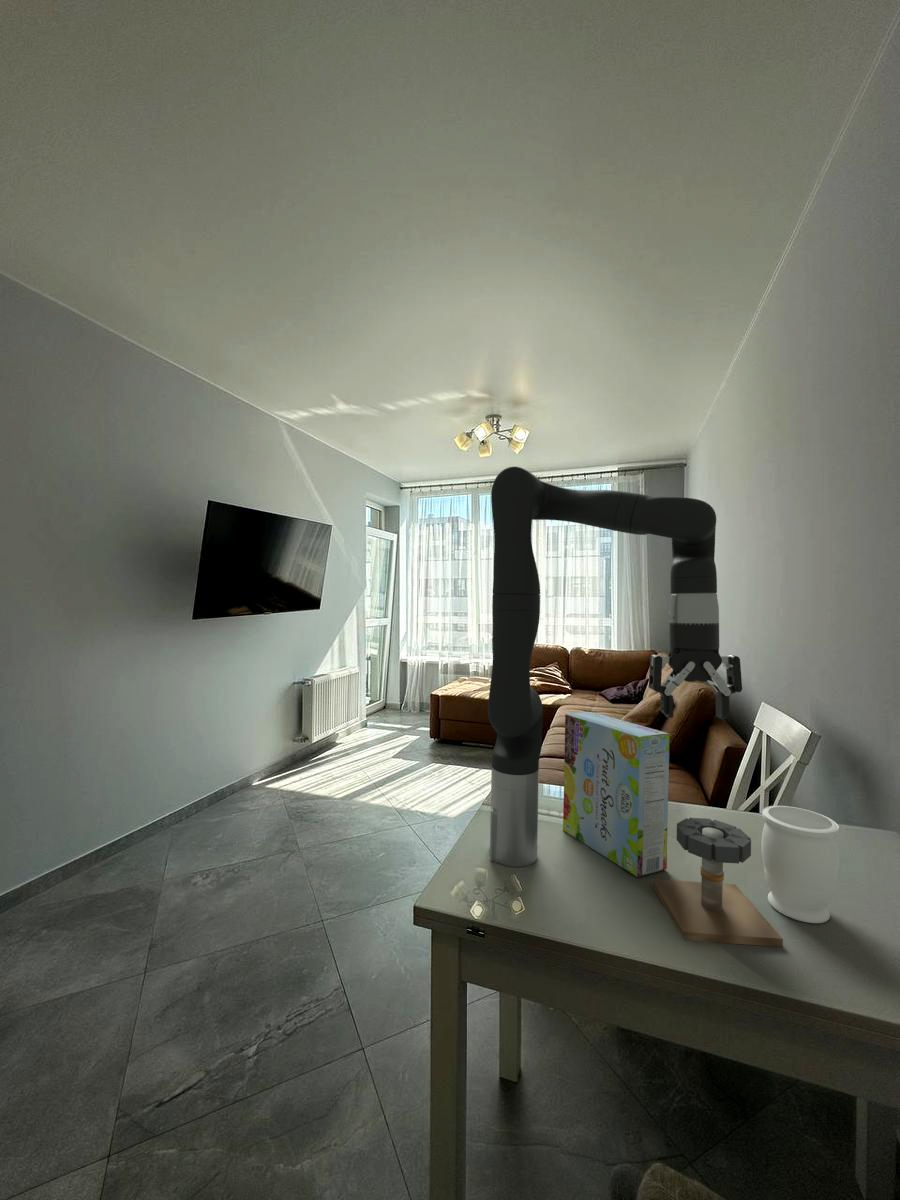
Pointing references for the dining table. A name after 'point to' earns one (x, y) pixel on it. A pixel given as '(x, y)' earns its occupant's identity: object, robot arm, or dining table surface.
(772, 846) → the jar
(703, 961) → the dining table surface
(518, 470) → the robot arm
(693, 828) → the ring
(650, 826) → the snack box
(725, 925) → the post base
